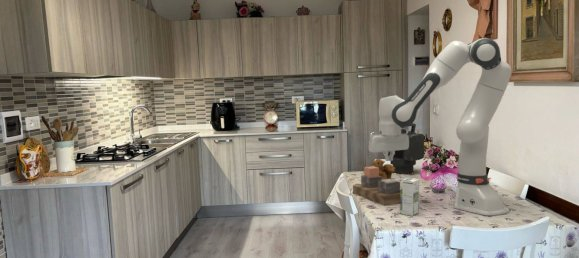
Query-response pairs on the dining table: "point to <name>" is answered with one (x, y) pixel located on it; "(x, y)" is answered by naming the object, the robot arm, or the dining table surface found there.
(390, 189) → the button board
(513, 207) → the dining table surface
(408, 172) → the black device with handle
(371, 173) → the reddish orange cube
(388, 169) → the stuffed squirrel
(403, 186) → the syrup box
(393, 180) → the white cube
